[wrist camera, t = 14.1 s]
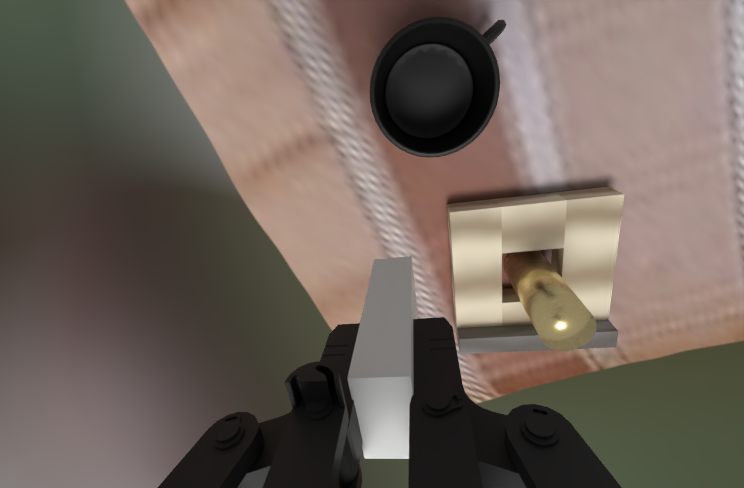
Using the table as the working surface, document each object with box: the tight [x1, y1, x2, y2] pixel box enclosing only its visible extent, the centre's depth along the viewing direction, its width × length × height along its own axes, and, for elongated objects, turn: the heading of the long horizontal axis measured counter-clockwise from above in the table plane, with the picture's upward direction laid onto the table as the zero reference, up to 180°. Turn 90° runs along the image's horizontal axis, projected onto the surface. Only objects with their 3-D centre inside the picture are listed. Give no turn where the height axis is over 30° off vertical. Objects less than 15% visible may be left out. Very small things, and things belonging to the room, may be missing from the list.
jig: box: [447, 187, 624, 354], centre depth 37 cm, size 16×16×5 cm
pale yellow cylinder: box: [504, 250, 596, 351], centre depth 34 cm, size 4×4×12 cm
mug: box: [370, 17, 506, 157], centre depth 29 cm, size 9×12×9 cm
